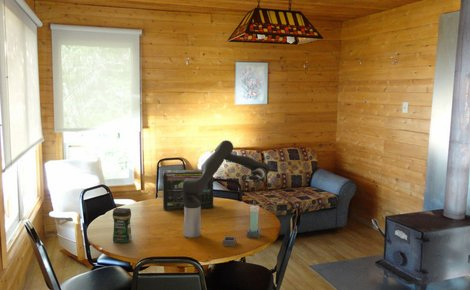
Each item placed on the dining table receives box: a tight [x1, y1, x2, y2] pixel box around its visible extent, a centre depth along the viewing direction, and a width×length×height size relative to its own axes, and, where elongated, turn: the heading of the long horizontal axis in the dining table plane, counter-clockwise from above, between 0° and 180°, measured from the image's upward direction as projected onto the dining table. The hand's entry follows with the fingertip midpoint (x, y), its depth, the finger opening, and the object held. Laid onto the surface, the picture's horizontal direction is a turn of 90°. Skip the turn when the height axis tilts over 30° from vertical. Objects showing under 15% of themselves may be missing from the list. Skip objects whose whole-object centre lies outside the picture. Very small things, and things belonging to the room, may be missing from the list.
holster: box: [222, 235, 237, 248], centre depth 227 cm, size 6×6×3 cm
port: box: [246, 227, 261, 239], centre depth 240 cm, size 7×7×4 cm
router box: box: [162, 168, 214, 211], centre depth 294 cm, size 36×11×27 cm, turn 99°
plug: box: [249, 200, 260, 232], centre depth 239 cm, size 4×4×20 cm
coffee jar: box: [112, 207, 133, 244], centre depth 229 cm, size 10×8×19 cm
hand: (250, 180), depth 248 cm, fingers open, 8 cm apart
